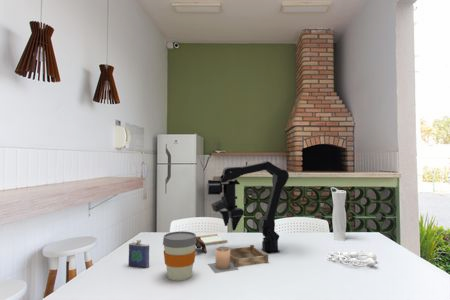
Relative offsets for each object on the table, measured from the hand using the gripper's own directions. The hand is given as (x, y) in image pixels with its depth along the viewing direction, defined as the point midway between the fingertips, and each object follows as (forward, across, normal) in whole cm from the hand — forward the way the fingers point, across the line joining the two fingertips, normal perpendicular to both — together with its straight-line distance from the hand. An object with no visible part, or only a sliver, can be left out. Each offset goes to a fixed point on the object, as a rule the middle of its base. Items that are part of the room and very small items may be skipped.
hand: (229, 227), depth 134 cm
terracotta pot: (+12, +14, -9) cm, 20 cm away
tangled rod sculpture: (+13, +30, +44) cm, 55 cm away
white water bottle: (+13, +1, +64) cm, 65 cm away
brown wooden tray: (+12, +10, +3) cm, 15 cm away
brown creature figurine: (+12, -8, -14) cm, 20 cm away
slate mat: (+12, +14, -9) cm, 21 cm away
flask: (+12, 0, -41) cm, 42 cm away
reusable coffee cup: (+12, +16, -27) cm, 34 cm away
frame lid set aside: (+12, -23, -2) cm, 26 cm away
